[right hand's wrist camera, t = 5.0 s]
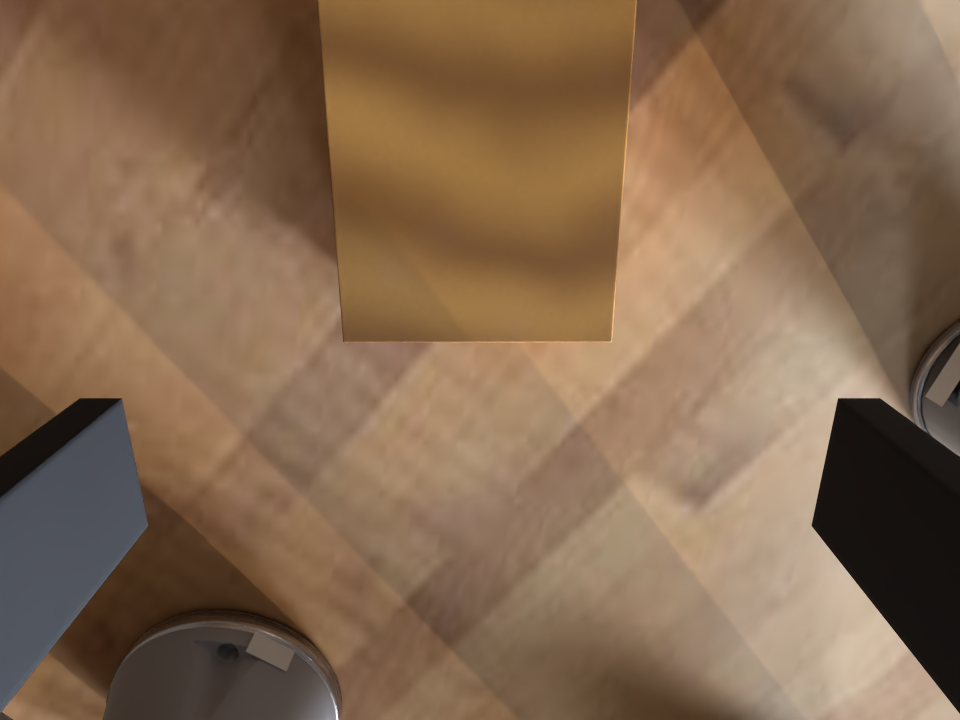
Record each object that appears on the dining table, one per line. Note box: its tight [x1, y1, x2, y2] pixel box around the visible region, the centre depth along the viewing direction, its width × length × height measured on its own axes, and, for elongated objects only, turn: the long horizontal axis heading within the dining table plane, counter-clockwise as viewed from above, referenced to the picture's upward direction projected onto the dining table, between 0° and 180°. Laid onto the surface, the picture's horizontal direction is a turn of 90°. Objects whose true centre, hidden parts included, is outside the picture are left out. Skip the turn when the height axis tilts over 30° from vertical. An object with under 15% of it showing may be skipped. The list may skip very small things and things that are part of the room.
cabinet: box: [317, 0, 637, 342], centre depth 29 cm, size 21×12×9 cm, turn 0°
